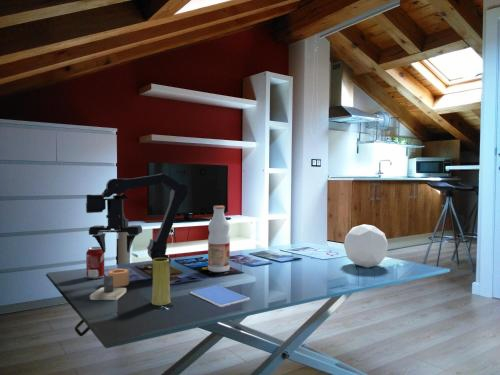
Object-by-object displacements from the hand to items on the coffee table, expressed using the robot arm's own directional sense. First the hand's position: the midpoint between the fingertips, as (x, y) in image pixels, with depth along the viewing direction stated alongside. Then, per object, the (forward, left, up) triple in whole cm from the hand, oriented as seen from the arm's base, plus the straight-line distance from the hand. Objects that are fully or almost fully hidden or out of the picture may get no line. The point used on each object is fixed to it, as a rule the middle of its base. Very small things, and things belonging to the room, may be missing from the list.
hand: (116, 252), depth 152 cm
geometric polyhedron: (-102, -36, -12) cm, 109 cm away
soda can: (+12, -8, -12) cm, 19 cm away
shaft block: (-3, +15, -12) cm, 19 cm away
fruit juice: (-36, -24, -12) cm, 45 cm away
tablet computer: (-41, +13, -13) cm, 45 cm away
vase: (-23, +21, -12) cm, 34 cm away
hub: (-1, +1, -12) cm, 12 cm away
